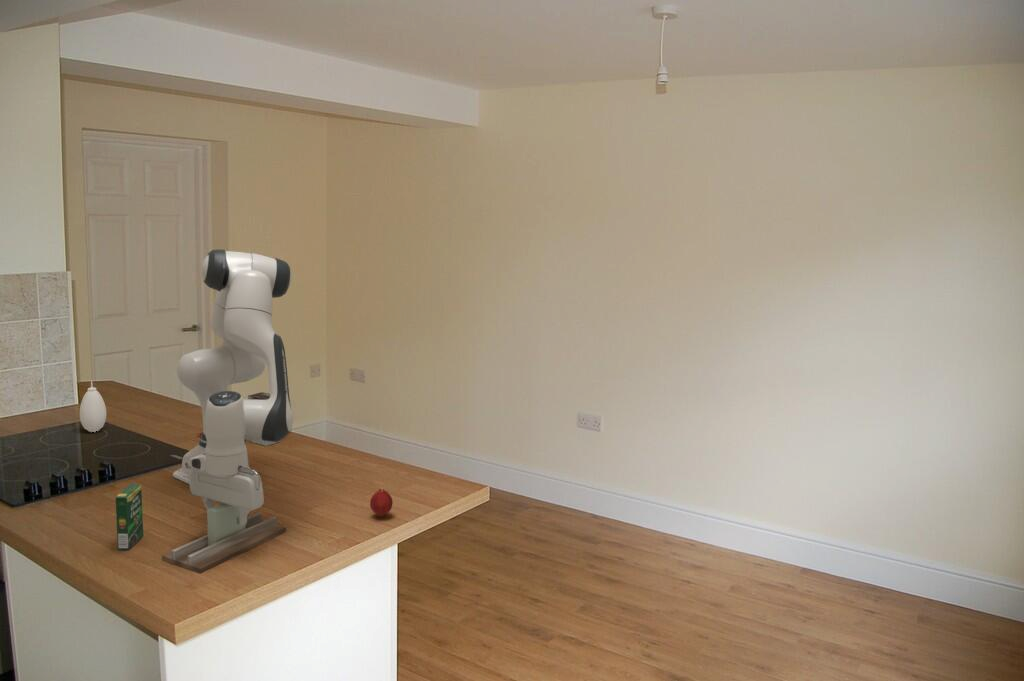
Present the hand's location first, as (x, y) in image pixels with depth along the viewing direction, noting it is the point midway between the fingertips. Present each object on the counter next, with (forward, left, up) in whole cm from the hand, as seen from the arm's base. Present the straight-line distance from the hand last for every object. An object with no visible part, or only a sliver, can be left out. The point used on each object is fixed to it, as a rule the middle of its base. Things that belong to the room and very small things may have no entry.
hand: (226, 519), depth 177 cm
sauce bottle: (-105, +40, -6) cm, 113 cm away
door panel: (0, 0, -5) cm, 5 cm away
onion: (+20, +33, -6) cm, 39 cm away
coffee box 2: (-19, -11, -6) cm, 23 cm away
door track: (0, 0, -6) cm, 6 cm away
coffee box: (-51, +64, -6) cm, 82 cm away
